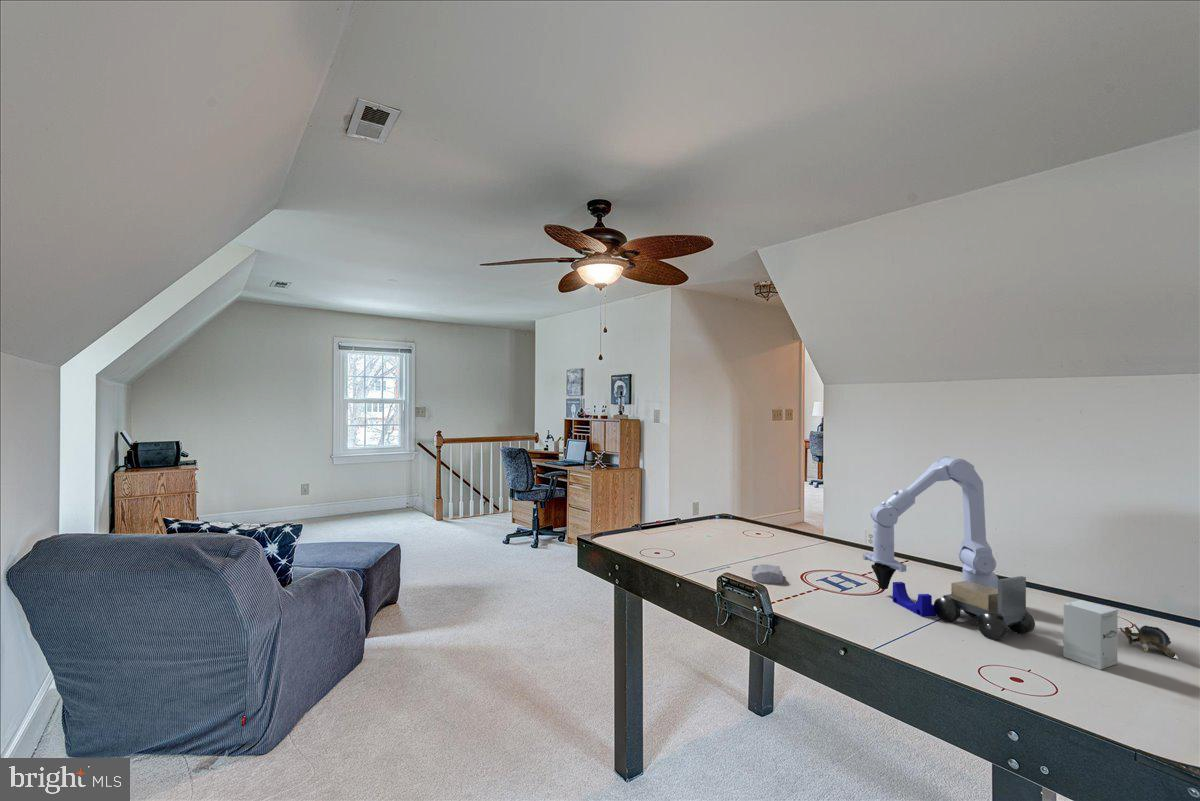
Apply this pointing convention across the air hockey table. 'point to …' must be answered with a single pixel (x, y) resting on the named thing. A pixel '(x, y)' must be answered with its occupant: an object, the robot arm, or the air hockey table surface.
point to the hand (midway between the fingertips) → (883, 588)
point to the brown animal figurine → (1150, 638)
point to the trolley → (989, 606)
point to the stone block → (767, 574)
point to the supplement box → (1090, 634)
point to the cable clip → (921, 606)
